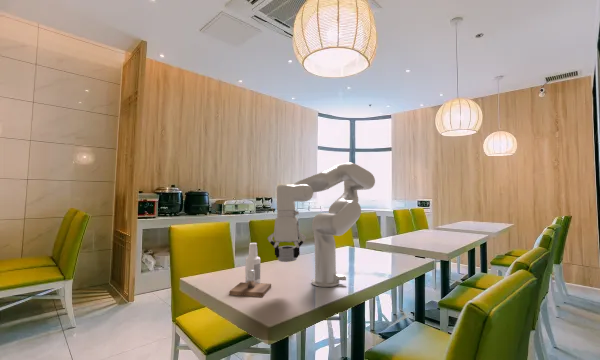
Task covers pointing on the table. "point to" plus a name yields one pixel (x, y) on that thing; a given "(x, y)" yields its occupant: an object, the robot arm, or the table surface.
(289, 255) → the ring
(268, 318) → the table surface
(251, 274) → the steel shaft
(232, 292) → the walnut base
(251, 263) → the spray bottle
